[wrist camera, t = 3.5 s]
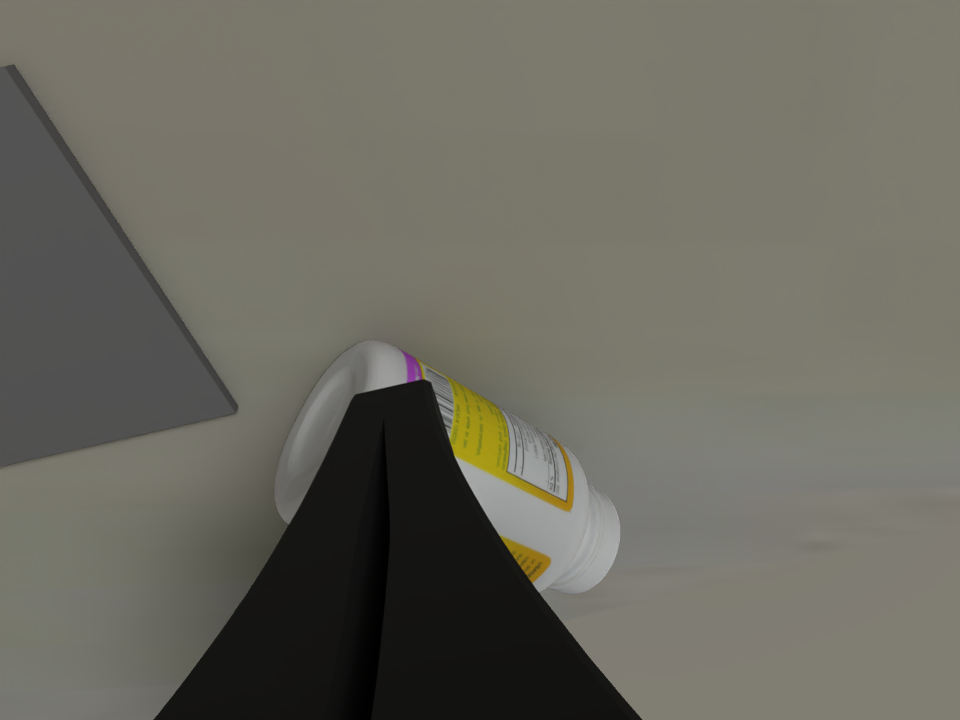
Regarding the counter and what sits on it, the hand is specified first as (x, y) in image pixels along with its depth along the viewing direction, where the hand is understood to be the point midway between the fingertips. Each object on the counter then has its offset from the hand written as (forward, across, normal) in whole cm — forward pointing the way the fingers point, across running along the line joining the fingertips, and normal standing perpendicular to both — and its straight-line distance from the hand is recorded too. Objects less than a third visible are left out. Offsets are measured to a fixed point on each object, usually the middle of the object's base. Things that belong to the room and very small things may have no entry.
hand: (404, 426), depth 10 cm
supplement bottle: (+6, +4, +5) cm, 9 cm away
